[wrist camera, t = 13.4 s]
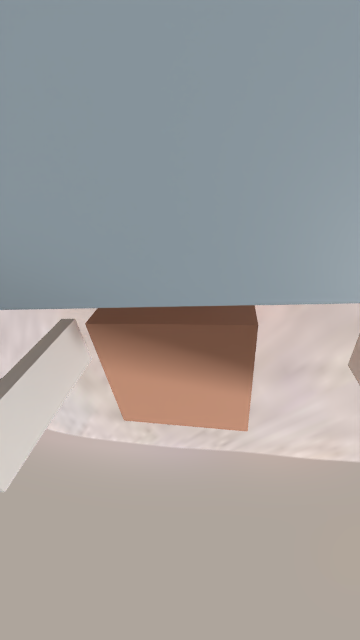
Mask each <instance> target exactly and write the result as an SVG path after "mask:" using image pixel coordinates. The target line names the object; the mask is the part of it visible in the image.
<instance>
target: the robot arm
mask: <svg viewBox="0 0 360 640" xmlns="http://www.w3.org/2000/svg"><path fill="white" fill-rule="evenodd" d="M91 360H92V357H91V355H90V353H89V350H88V348H87V346H86V343H85V341H84V339H83V336H82V334H81V332H80V329H79V327H78V325H77V322H76V320H75V319H61V320H60V321H59V322H58V323H57V324H56V325H55V326H54V327H53V328H52V329H51V330H50V331H49V332H48V333H47V334H46V335H45V336H44V337H43V338H42V339H41V340H40V341H39V342H38V343H37V344H36V345H35V346H34V347H33V348H32V349H31V350H30V351H29V352H28V353H27V354H26V355H25V356H24V357H23V358H22V359H21V360H20V361H19V362H18V363H17V364H16V365H15V366H14V367H13V368H12V369H11V370H10V371H9V372H8V373H7V374H6V375H5V376H4V377H3V378H1V379H0V491H1V492H5V491H6V489H7V488H8V486H9V485H10V483H11V482H12V480H13V478H14V477H15V476H16V474H17V473H18V471H19V470H20V468H21V467H22V465H23V464H24V462H25V460H26V459H27V457H28V456H29V454H30V452H31V451H32V450H33V448H34V447H35V445H36V444H37V442H38V441H39V439H40V438H41V436H42V435H43V433H44V432H45V430H46V428H47V427H48V425H49V424H50V422H51V421H52V419H53V418H54V416H55V415H56V413H57V412H58V410H59V409H60V407H61V406H62V404H63V403H64V401H65V399H66V398H67V396H68V395H69V393H70V392H71V390H72V389H73V387H74V386H75V384H76V383H77V381H78V380H79V378H80V377H81V375H82V374H83V372H84V371H85V369H86V367H87V366H88V364H89V363H90V361H91ZM348 366H349V368H350V370H351V371H352V373H353V375H354V376H355V378H356V380H357V381H358V383H359V385H360V335H359V337H358V340H357V342H356V345H355V348H354V350H353V353H352V356H351V358H350V361H349V364H348Z"/></svg>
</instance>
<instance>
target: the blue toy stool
mask: <svg viewBox="0 0 360 640" xmlns="http://www.w3.org/2000/svg"><path fill="white" fill-rule="evenodd" d="M343 303H360V0H0V310H17V309H71V308H126V307H180V306H235V305H289V304H343Z"/></svg>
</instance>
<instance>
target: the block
mask: <svg viewBox="0 0 360 640" xmlns="http://www.w3.org/2000/svg"><path fill="white" fill-rule="evenodd" d="M85 325H86V327H87V330H88V332H89V335H90V337H91V340H92V342H93V344H94V347H95V349H96V352H97V354H98V357H99V359H100V362H101V364H102V367H103V369H104V372H105V374H106V377H107V379H108V382H109V384H110V387H111V389H112V392H113V394H114V396H115V399H116V401H117V404H118V406H119V409H120V411H121V414H122V416H123V419H124V420H125V421H137V422H148V423H159V424H170V425H182V426H193V427H204V428H215V429H227V430H238V431H248V421H249V411H250V401H251V391H252V381H253V371H254V361H255V351H256V341H257V331H258V322H257V316H256V311H255V306H254V305H235V306H180V307H126V308H98V309H97V310H96V311H95V312H94V314H93V315H92V316H91V317H90V318H89V320H88V321H87V322H86V323H85Z"/></svg>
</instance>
